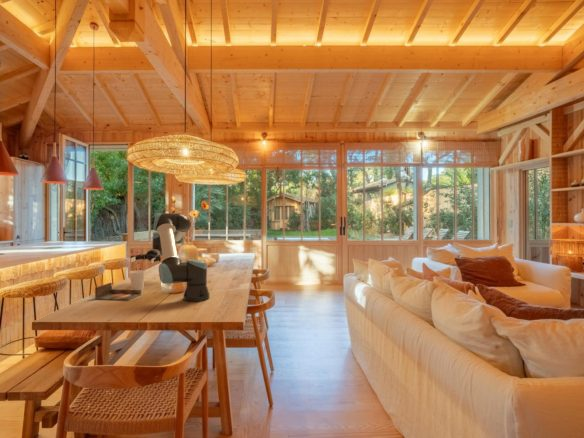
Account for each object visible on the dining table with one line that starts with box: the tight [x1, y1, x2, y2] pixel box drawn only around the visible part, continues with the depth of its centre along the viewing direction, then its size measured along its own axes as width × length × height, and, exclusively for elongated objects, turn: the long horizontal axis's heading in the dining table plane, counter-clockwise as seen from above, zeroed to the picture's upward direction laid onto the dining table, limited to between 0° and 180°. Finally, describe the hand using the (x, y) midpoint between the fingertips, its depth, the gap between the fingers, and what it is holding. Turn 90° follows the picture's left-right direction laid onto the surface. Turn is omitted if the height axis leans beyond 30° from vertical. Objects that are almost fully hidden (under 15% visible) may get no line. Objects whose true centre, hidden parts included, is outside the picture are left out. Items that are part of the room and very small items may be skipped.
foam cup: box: [129, 269, 147, 293], centre depth 215 cm, size 10×9×13 cm
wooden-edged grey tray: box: [94, 282, 142, 302], centre depth 199 cm, size 20×14×7 cm
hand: (141, 261), depth 221 cm, fingers open, 13 cm apart
